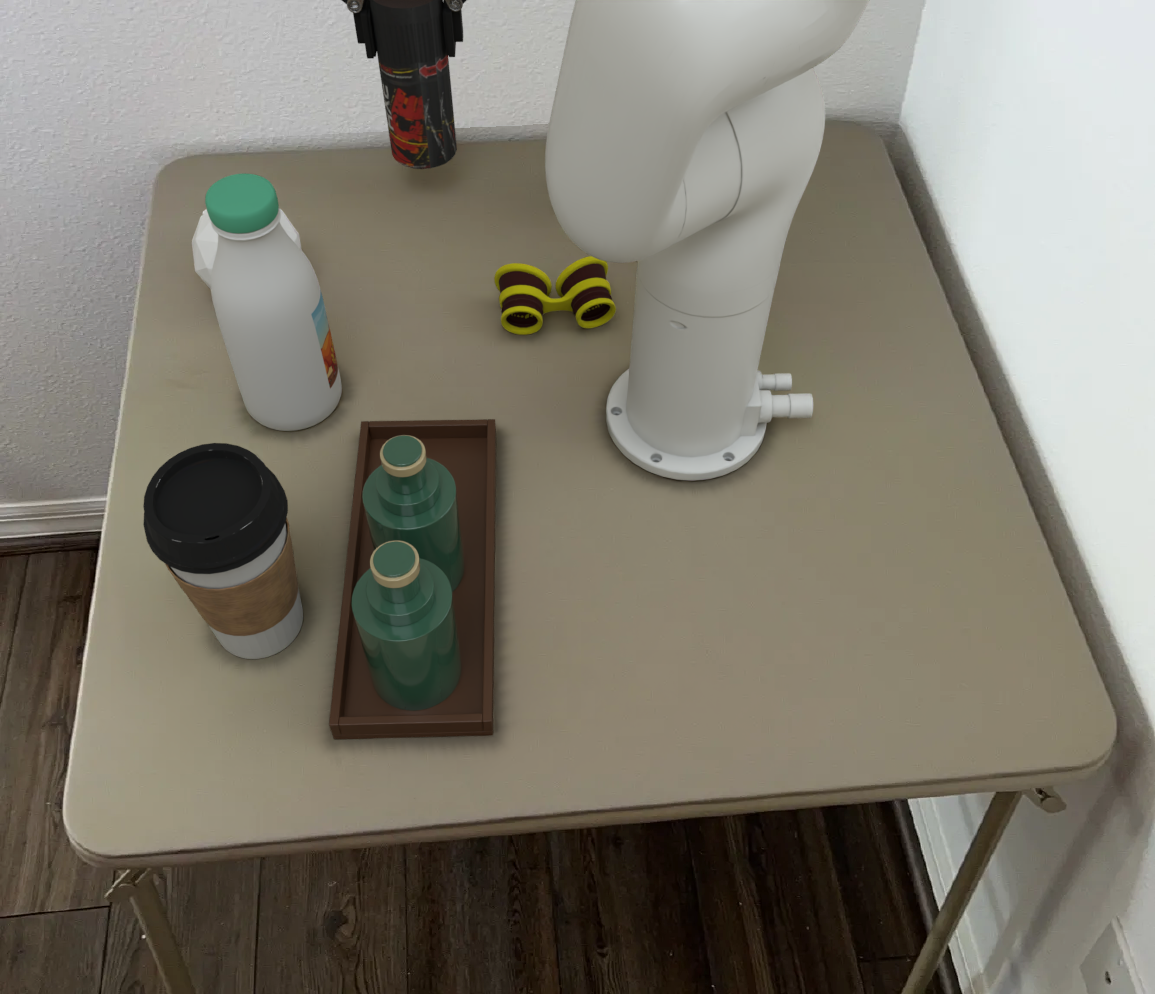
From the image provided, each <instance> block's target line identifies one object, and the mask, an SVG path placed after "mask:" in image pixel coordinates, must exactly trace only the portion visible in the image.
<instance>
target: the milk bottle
mask: <svg viewBox="0 0 1155 994" xmlns="http://www.w3.org/2000/svg"><path fill="white" fill-rule="evenodd" d="M204 202H205V203H204V204H205V208H206V209H207V212H208V215H209V218H210V220H211V225H212V228H213V229H214V231H215V232H216V233H217V234H218V247H217V253H216V256H215V260H214V263H213V268H212V273H211V289H210V294H211V300H212V305H213V307H214V308H213V309H214V312H215V316H216V320H217V324H218V326H219V330H220V333H221V337H222V340H223V343H224V346H225V349H226V352H227V356H228V358H229V362H230V365H231V368H232V371H233V374H234V377H235V380H236V383H237V385H238V386H237V387H238V389H239V393H240V396H241V398H242V401H243V403H244V406H245V409H246V411H247V413H248V414H249V416H251V417H252V418H253V419H254V420H255V421H256V422H257V423H259V424H260V425H262V426H264V427H266V428H268V429H271V430H276V431H283V432H293V431H294V432H295V431H300V430H305V429H308V428H310V427H314V426H316V425H318V424H319V423H321V422H323V421H324V420H325V419H327V418H328V417H330V416H331V414H332V413H333V412H334V411H335V410H336V407H337V406H338V404H339V402H340V399H341V397H342V392H343V386H342V379H341V372H340V368H339V364H338V358H337V355H336V351H335V350H336V349H335V346H334V340H333V336H332V332H331V331H332V330H331V327H330V323H329V319H328V315H327V310H326V306H325V301H324V297H323V294H322V290H321V286H320V283H319V279H318V277H317V276H318V275H316V271H315V269H314V267H313V265H312V263H311V261H310V259H309V258H308V257H307V255H306V253H305V252H304V250H302V248H301V249H300V248H299V247H298V245H297V244H296V243H295V242H294V241H293V240H292V239H291V238H290V237H289V236H288V235H287V233H286V232H285V231H284V229H283V227H282V226H281V224H280V222H279V221H280V218H281V211H280V209H281V208H280V205H279V199H278V195H277V191H276V189H275V187H274V186H273V184H272V183H271V181H269V180H268V179H267V178H266V177H263V176H262V175H258V174H254V173H246V172H245V173H235V174H229V175H227V176H225V177H222V178H220V179H218V180H216V181H215V182H214V183H213V184H212V185H210V187H208V189H207V191H206V194H205V199H204Z"/></svg>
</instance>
